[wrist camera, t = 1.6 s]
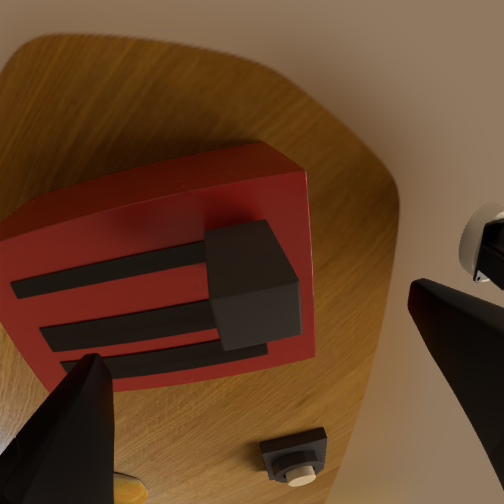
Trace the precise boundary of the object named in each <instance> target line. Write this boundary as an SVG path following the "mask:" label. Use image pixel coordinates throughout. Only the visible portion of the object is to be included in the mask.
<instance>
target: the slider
mask: <svg viewBox="0 0 504 504" xmlns="http://www.w3.org/2000/svg"><path fill="white" fill-rule="evenodd" d="M204 242H205V256H206V269H207V282H208V294H209V301H210V305H211V309H212V313H213V316H214V320H215V324H216V327H217V331H218V334H219V338H220V342H221V345H222V348H223V350H224V351H228V350H233V349H238V348H243V347H248V346H253V345H257V344H262V343H267V342H271V341H276V340H280V339H284V338H289V337H293V336H297V335H301V334H302V332H303V327H302V310H301V295H300V280H299V279H298V277H297V275H296V273H295V271H294V269H293V267H292V266H291V264H290V262H289V260H288V258H287V256H286V254H285V253H284V251H283V249H282V247H281V245H280V243H279V242H278V240H277V238H276V236H275V234H274V232H273V231H272V229H271V227H270V225H269V223H268V221H267V220H266V219H263V220H258V221H252V222H247V223H242V224H237V225H232V226H227V227H221V228H216V229H211V230H206V231H205V232H204Z"/></svg>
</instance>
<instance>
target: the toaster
mask: <svg viewBox="0 0 504 504" xmlns="http://www.w3.org/2000/svg"><path fill="white" fill-rule="evenodd" d="M263 219H266V220H267V221H268V223H269V225H270V227H271V229H272V231H273V232H274V234H275V236H276V238H277V240H278V242H279V243H280V245H281V247H282V249H283V251H284V253H285V254H286V256H287V258H288V260H289V262H290V264H291V266H292V267H293V269H294V271H295V273H296V275H297V277H298V279H299V280H300V295H301V310H302V327H303V332H302V334H301V335H297V336H293V337H289V338H284V339H280V340H276V341H271V342H267V343H262V344H257V345H253V346H248V347H243V348H238V349H233V350H228V351H224V350H223V348H222V345H221V342H220V338H219V334H218V331H217V327H216V324H215V320H214V316H213V313H212V309H211V305H210V301H209V294H208V282H207V269H206V256H205V242H204V232H205V231H206V230H211V229H216V228H221V227H227V226H232V225H237V224H242V223H247V222H252V221H258V220H263ZM0 321H1V323H2V325H3V327H4V328H5V330H6V331H7V333H8V335H9V336H10V338H11V340H12V341H13V343H14V344H15V346H16V347H17V349H18V350H19V352H20V353H21V355H22V356H23V358H24V359H25V361H26V362H27V364H28V365H29V366H30V368H31V369H32V371H33V372H34V373H35V375H36V376H37V378H38V379H39V380H40V382H41V383H42V384H43V386H44V387H45V388H46V389H47V391H48V392H49V393H50V394H51V392H52V391H53V390H54V389H55V388H56V387H57V385H58V384H59V383H60V382H61V381H62V380H63V378H64V377H65V376H66V375H67V374H68V373H69V371H70V370H71V369H72V368H73V367H74V366H75V365H76V363H77V362H78V361H79V360H80V359H81V358H82V357H83V356H84V355H85V354H89V353H98V354H100V356H101V357H102V359H103V361H104V362H105V364H106V366H107V367H108V369H109V370H110V372H111V375H112V380H113V392H120V391H130V390H140V389H149V388H157V387H165V386H172V385H179V384H186V383H192V382H199V381H205V380H210V379H216V378H222V377H227V376H232V375H238V374H243V373H248V372H253V371H257V370H262V369H267V368H271V367H275V366H280V365H284V364H288V363H292V362H297V361H301V360H305V359H308V358H312V357H315V311H314V283H313V262H312V244H311V228H310V213H309V200H308V187H307V176H306V170H304V169H303V168H302V167H300V166H299V165H297V164H296V163H295V162H293V161H292V160H290V159H289V158H287V157H286V156H285V155H283V154H282V153H280V152H279V151H277V150H276V149H274V148H273V147H272V146H270V145H269V144H267V143H266V142H259V143H253V144H247V145H241V146H235V147H229V148H223V149H218V150H213V151H207V152H202V153H197V154H192V155H187V156H183V157H178V158H173V159H169V160H164V161H160V162H156V163H152V164H147V165H143V166H139V167H135V168H131V169H127V170H124V171H120V172H116V173H112V174H109V175H105V176H101V177H98V178H94V179H91V180H88V181H84V182H81V183H78V184H74V185H71V186H68V187H65V188H62V189H58V190H55V191H52V192H49V193H46V194H43V195H40V196H37V197H35V198H32V199H30V200H28V201H27V202H26V203H24V204H23V205H22V206H20V207H19V208H18V209H17V210H15V211H14V212H13V213H12V214H10V215H9V216H8V217H7V218H5V219H4V220H3V221H2V222H1V223H0Z"/></svg>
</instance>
